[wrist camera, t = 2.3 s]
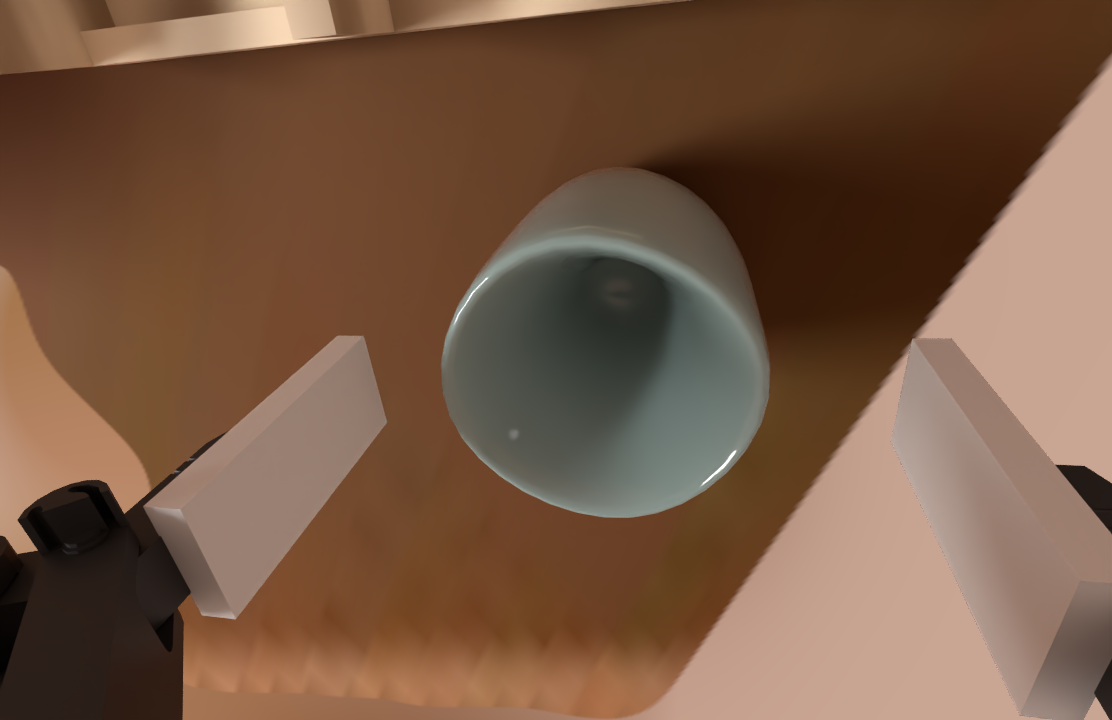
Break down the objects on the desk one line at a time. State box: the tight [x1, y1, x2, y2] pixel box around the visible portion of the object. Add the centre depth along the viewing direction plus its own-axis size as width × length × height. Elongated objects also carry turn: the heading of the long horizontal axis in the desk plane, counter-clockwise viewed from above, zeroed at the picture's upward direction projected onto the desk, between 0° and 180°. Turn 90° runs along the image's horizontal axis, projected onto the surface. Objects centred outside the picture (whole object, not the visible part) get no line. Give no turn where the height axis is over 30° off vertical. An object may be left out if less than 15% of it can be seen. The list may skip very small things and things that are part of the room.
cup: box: [441, 166, 770, 518], centre depth 18 cm, size 8×8×10 cm
